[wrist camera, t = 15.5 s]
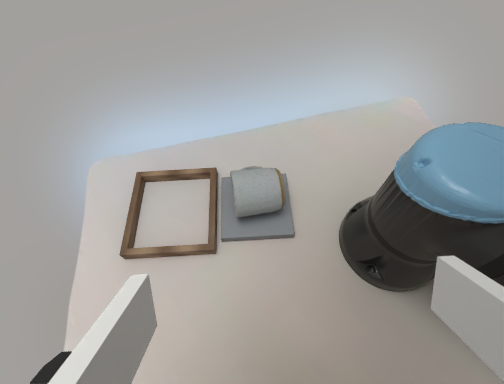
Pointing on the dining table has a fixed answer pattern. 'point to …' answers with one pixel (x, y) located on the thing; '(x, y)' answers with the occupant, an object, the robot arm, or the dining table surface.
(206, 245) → the walnut frame
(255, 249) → the dining table surface
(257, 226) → the grey board
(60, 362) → the robot arm
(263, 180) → the ceramic mug
